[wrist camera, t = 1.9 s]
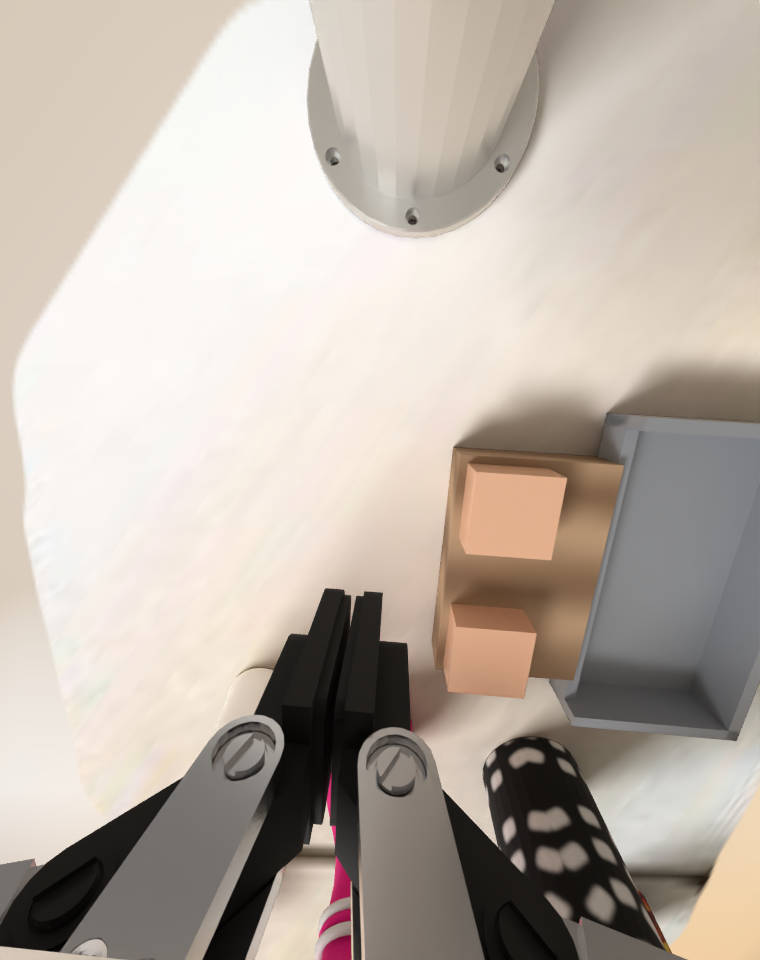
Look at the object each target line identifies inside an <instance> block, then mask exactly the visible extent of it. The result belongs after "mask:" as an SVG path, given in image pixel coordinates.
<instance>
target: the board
mask: <svg viewBox="0 0 760 960" xmlns="http://www.w3.org/2000/svg"><path fill="white" fill-rule="evenodd" d="M468 463H474V464H489V465H504V466H519V467H534V468H549V469H551V470H553V471H554V472H556V473H558V474H560V475H562V476H564V477H566V478H567V482H566V487H565V492H564V498H563V503H562V508H561V513H560V518H559V523H558V528H557V533H556V538H555V543H554V548H553V554H552V559H551V560H540V559H526V558H513V557H500V556H486V555H473V554H466V553H465V551H464V548H463V546H462V544H461V541H460V539H459V531H460V523H461V515H462V506H463V498H464V490H465V482H466V474H467V466H468ZM623 468H624V465H621V464H618V463H615V462H612V461H609V460H606V459H603V458H600V457H595V456H580V455H565V454H550V453H534V452H519V451H504V450H489V449H473V448H458V447H453V455H452V464H451V473H450V482H449V491H448V500H447V509H446V518H445V527H444V536H443V545H442V554H441V563H440V572H439V581H438V590H437V599H436V608H435V617H434V626H433V635H432V646H433V653H434V660H435V668H436V669H443V670H444V666H443V661H444V653H445V645H446V637H447V629H448V620H449V612H450V604H462V605H475V606H487V607H500V608H513V609H523V610H524V612H525V614H526V615H527V617H528V619H529V621H530V622H531V624H532V626H533V628H534V629H535V631H536V633H537V635H536V640H535V645H534V650H533V655H532V661H531V666H530V671H529V676H528V677H537V678H549V679H560V680H572V681H574V677H575V672H576V668H577V664H578V660H579V655H580V651H581V647H582V643H583V638H584V634H585V630H586V626H587V621H588V617H589V613H590V609H591V604H592V600H593V596H594V592H595V587H596V583H597V579H598V575H599V570H600V566H601V562H602V558H603V553H604V549H605V545H606V541H607V536H608V532H609V528H610V524H611V519H612V515H613V511H614V507H615V502H616V498H617V494H618V490H619V485H620V481H621V477H622V473H623Z"/></svg>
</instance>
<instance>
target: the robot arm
mask: <svg viewBox="0 0 760 960" xmlns="http://www.w3.org/2000/svg"><path fill="white" fill-rule="evenodd" d="M555 1H556V0H309V3H310V7H311V12H312V16H313V21H314V25H315V29H316V34H317V38H318V39H317V41H316V43H315V48H314V52H313V56H312V60H311V64H310V68H309V78H308V90H307V106H308V120H309V127H310V131H311V135H312V140H313V144H314V148H315V151H316V154H317V157H318V160H319V162H320V165H321V168H322V170H323V172H324V174H325V176H326V178H327V180H328V182H329V184H330V186H331V188H332V189H333V191H334V192H335V193H336V195H337V196H338V197H339V199H340V200H341V201H342V203H343V204H344V205H345V206H346V207H347V208H348V209H349V210H350V211H351V212H352V213H353V214H355V215H356V216H357V217H358V218H359V219H360V220H362V221H363V222H365V223H367V224H368V225H370V226H372V227H374V228H375V229H377V230H379V231H382V232H385V233H388V234H391V235H394V236H398V237H408V238H423V237H432V236H438V235H441V234H444V233H447V232H450V231H452V230H455V229H457V228H459V227H461V226H462V225H464V224H466V223H468V222H469V221H471V220H473V219H474V218H475V217H477V216H478V215H479V214H480V213H481V212H483V211H484V210H485V209H486V208H487V207H488V206H490V205H491V204H492V202H493V201H494V200H495V199H496V197H497V196H498V195H499V194H500V193H501V191H502V190H503V189H504V188H505V187H506V185H507V183H508V181H509V180H510V178H511V176H512V175H513V173H514V171H515V170H516V168H517V166H518V164H519V162H520V160H521V158H522V155H523V153H524V151H525V149H526V147H527V145H528V142H529V139H530V135H531V132H532V129H533V125H534V122H535V119H536V112H537V104H538V97H539V62H538V57H537V51H536V48H537V45H538V43H539V40H540V38H541V35H542V33H543V30H544V28H545V25H546V23H547V21H548V18H549V16H550V13H551V11H552V8H553V6H554V3H555ZM334 162H338V164H337V165H334V166H332V164H333V163H334ZM497 168H499V169H501V171H502V173H501V172H498V171H497V170H496V169H497ZM410 219H415V220H416V222H417V223H416V224H414V225H411V224H409V223H408V222H409V220H410ZM382 596H383V593H379V592H366V591H364V596H356V601H355V606H354V611H353V616H352V621H351V626H350V613H351V595H345V592H344V590H341V589H328V588H326V589H325V590H324V593H323V596H322V598H321V601H320V604H319V606H318V609H317V612H316V615H315V617H314V620H313V623H312V625H311V628H310V631H309V633H308V635H301V634H291V635H290V636H289V637H288V639H287V641H286V644H285V646H284V648H283V650H282V652H281V655H280V657H279V659H278V661H277V664H276V666H275V668H274V670H273V673H272V675H271V677H270V679H269V682H268V684H267V686H266V688H265V690H264V693H263V695H262V697H261V699H260V702H259V704H258V706H257V708H256V711H255V713H254V715H249V716H243V717H240V718H238V719H235V720H233V721H231V722H229V723H228V724H226V725H225V726H223V727H222V728H221V729H219V730H218V731H217V732H216V734H215V735H214V736H213V737H212V738H211V739H210V740H209V742H208V743H207V745H206V746H205V747H204V749H203V750H202V752H201V753H200V754H199V756H198V757H197V759H196V760H195V762H194V763H193V764H192V766H191V767H190V769H189V770H188V771H187V773H186V774H185V776H184V777H183V778H181V779H179V780H178V781H176V782H175V783H173V784H171V785H170V786H168V787H166V788H165V789H163V790H161V791H160V792H158V793H157V794H155V795H153V796H152V797H150V798H148V799H147V800H145V801H143V802H142V803H140V804H138V805H137V806H135V807H134V808H132V809H130V810H129V811H127V812H125V813H124V814H122V815H120V816H119V817H117V818H116V819H114V820H112V821H111V822H109V823H107V824H106V825H104V826H102V827H101V828H100V829H98V830H96V831H94V832H93V833H91V834H89V835H88V836H86V837H84V838H83V839H81V840H80V841H78V842H76V843H75V844H73V845H71V846H70V847H68V848H66V849H65V850H64V851H62V852H61V853H60V854H58V855H57V856H55V857H54V858H53V859H51V860H50V861H49V862H47V863H46V864H45V865H41V866H36V863H35V859H30V860H24V861H18V862H13V863H7V864H1V865H0V960H255V957H256V954H257V951H258V948H259V945H260V942H261V940H262V937H263V934H264V931H265V928H266V925H267V923H268V920H269V917H270V914H271V911H272V908H273V905H274V903H275V900H276V897H277V894H278V891H279V888H280V886H281V883H282V879H283V874H284V870H285V866H286V865H287V864H288V863H289V862H290V861H291V860H292V859H293V858H294V857H295V856H296V855H297V854H299V853H300V852H301V851H302V847H303V844H308V845H309V843H310V838H311V832H312V827H313V824H320V825H322V823H323V818H324V813H325V807H326V801H327V796H328V790H329V784H330V778H331V805H330V826H336V837H335V855H336V857H337V858H338V860H339V862H340V863H341V865H342V867H343V868H344V870H345V872H346V873H347V875H348V876H349V878H350V880H351V953H352V960H687V959H684V958H682V957H679V956H677V955H674V954H672V953H670V952H667V951H665V950H662V949H660V948H657V947H655V946H652V945H650V944H647V943H645V942H642V941H640V940H638V939H635V938H633V937H630V936H628V935H625V934H623V933H620V932H618V931H615V930H613V929H610V928H608V927H606V926H603V925H601V924H598V923H596V922H593V921H591V920H588V919H586V918H583V917H581V918H580V921H579V924H578V923H575V922H573V921H570V920H568V919H566V918H563V917H561V916H560V915H559V913H558V912H557V911H556V910H555V908H554V907H553V906H552V905H551V903H550V902H549V901H548V899H547V898H546V897H545V896H544V895H543V894H542V893H541V892H540V891H539V890H538V889H537V888H536V887H535V886H534V885H533V884H532V883H531V882H530V880H529V879H528V878H527V877H526V876H525V875H524V874H523V873H522V872H521V871H520V870H519V869H518V868H517V867H516V866H515V865H514V864H513V863H512V862H511V861H510V860H509V858H508V857H507V856H506V855H505V854H504V853H503V852H502V851H501V850H500V849H499V848H498V847H497V846H496V845H495V844H494V843H493V842H492V841H491V840H490V839H489V838H488V836H487V835H486V834H485V833H484V832H483V831H482V830H481V829H480V828H479V827H478V826H477V825H476V824H475V823H474V822H473V821H472V820H471V819H470V818H469V817H468V816H467V814H466V813H465V812H464V811H463V810H462V809H461V808H460V807H459V806H458V805H457V804H456V803H455V802H454V801H453V800H452V799H451V798H450V797H449V796H448V795H447V794H446V792H445V791H444V790H443V789H442V787H441V783H440V779H439V775H438V771H437V767H436V763H435V760H434V757H433V755H432V752H431V750H430V748H429V747H428V746H427V744H426V743H425V742H424V741H423V739H421V738H420V737H419V736H417V735H416V734H415V733H413V732H411V721H410V697H409V673H408V649H407V643H398V642H386V641H379V640H380V626H381V611H382ZM331 773H332V775H331Z"/></svg>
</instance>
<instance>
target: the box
mask: <svg viewBox="0 0 760 960" xmlns="http://www.w3.org/2000/svg"><path fill="white" fill-rule="evenodd" d="M597 457H600V458H603V459H606V460H609V461H612V462H615V463H618V464H621V465H624V468H623V473H622V477H621V481H620V485H619V490H618V494H617V498H616V502H615V507H614V511H613V515H612V519H611V524H610V528H609V532H608V536H607V541H606V545H605V549H604V553H603V558H602V562H601V566H600V570H599V575H598V579H597V583H596V587H595V592H594V596H593V600H592V604H591V609H590V613H589V617H588V621H587V626H586V630H585V634H584V638H583V643H582V647H581V651H580V655H579V660H578V664H577V668H576V672H575V677H574V681H572V680H560V679H550V680H549V683H550V684H551V686H552V688H553V690H554V692H555V694H556V696H557V698H558V700H559V702H560V704H561V706H562V708H563V709H564V711H565V713H566V715H567V717H568V719H569V721H570V723H571V725H572V726H577V727H588V728H599V729H610V730H622V731H633V732H644V733H655V734H666V735H677V736H689V737H700V738H711V739H722V740H733V741H737V738H738V736H739V733H740V731H741V728H742V725H743V723H744V720H745V718H746V715H747V713H748V710H749V708H750V705H751V703H752V700H753V698H754V695H755V692H756V690H757V687H758V685H759V682H760V422H746V421H729V420H713V419H697V418H681V417H664V416H648V415H632V414H616V413H607V414H606V419H605V424H604V428H603V433H602V438H601V442H600V447H599V452H598V456H597Z"/></svg>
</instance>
